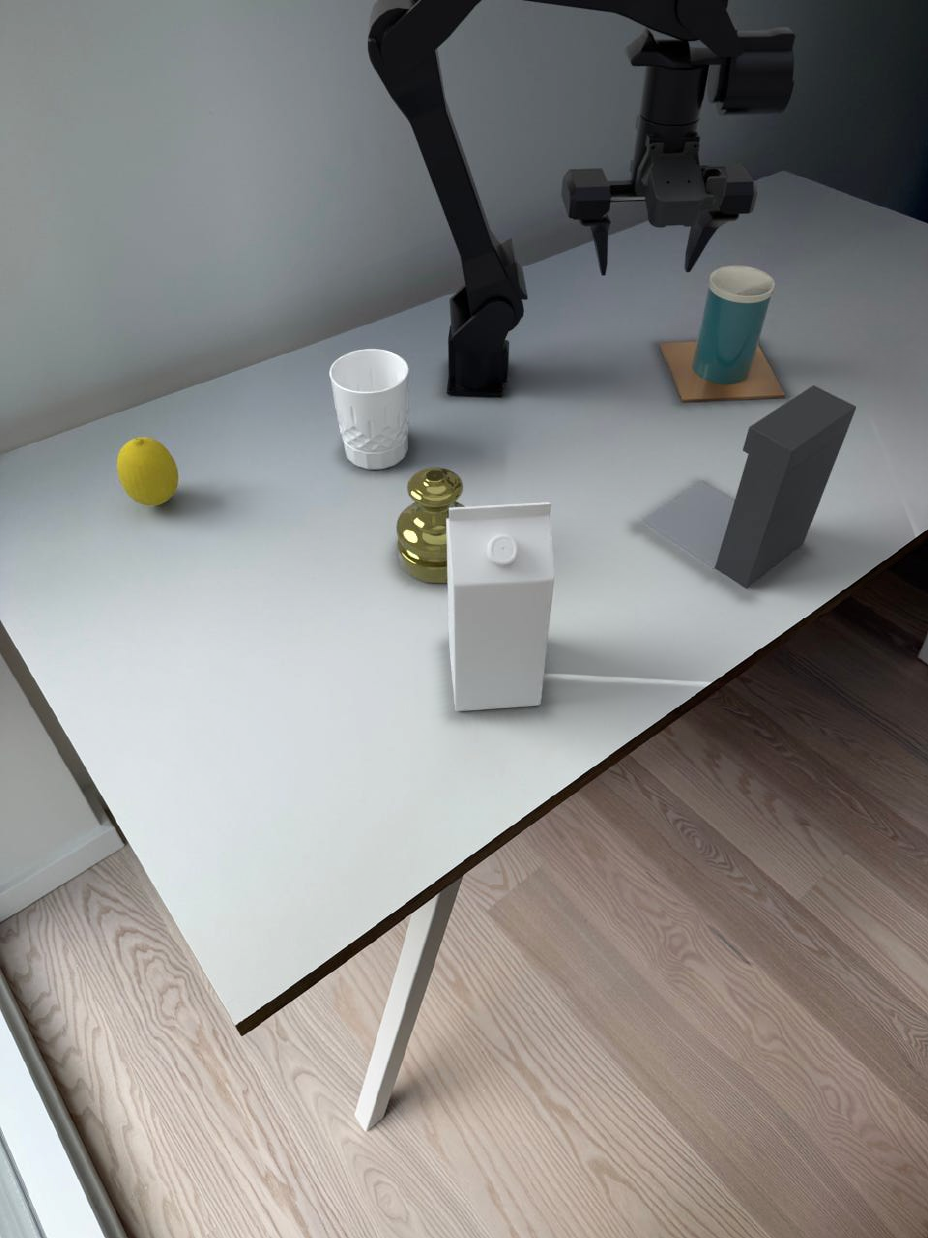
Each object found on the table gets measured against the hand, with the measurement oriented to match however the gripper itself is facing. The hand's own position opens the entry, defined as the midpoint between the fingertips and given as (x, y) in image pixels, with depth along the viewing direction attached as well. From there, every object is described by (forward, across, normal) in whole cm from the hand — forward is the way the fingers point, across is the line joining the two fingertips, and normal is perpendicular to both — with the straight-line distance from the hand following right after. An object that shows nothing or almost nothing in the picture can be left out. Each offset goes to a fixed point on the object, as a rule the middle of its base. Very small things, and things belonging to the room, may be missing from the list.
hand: (645, 272), depth 96 cm
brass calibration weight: (+13, -24, -29) cm, 40 cm away
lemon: (+13, -52, -19) cm, 57 cm away
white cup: (+13, -30, -12) cm, 35 cm away
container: (+13, +11, 0) cm, 17 cm away
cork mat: (+13, +11, 0) cm, 17 cm away
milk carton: (+13, -20, -44) cm, 50 cm away
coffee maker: (+13, +3, -28) cm, 31 cm away
